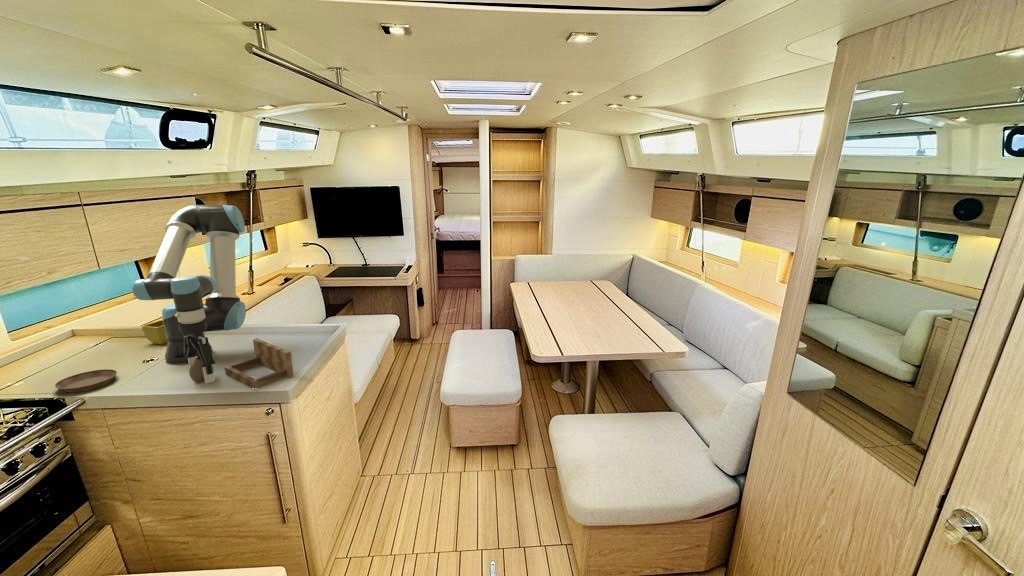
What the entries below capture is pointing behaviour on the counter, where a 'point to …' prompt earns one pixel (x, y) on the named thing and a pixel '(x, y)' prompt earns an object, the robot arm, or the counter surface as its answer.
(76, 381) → the saucer
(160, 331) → the flower pot
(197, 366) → the vase
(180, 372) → the counter surface
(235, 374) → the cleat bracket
